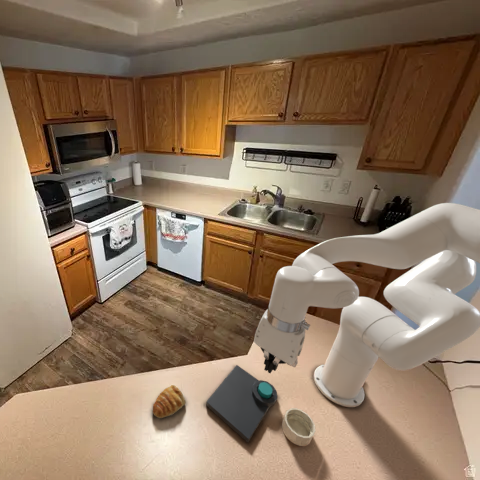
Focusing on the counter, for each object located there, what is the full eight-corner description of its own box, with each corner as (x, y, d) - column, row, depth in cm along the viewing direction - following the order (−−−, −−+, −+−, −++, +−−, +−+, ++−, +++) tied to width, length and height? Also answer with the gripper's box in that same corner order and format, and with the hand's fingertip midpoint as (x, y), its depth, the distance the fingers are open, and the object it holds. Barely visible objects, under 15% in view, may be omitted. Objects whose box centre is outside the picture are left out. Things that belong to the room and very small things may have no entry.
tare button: (261, 383, 75) (262, 379, 74) (273, 392, 73) (274, 388, 72) (255, 392, 73) (256, 388, 72) (267, 401, 71) (268, 397, 70)
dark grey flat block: (236, 368, 83) (237, 360, 81) (278, 398, 74) (281, 391, 73) (206, 405, 73) (206, 398, 72) (250, 445, 64) (252, 438, 63)
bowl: (287, 411, 71) (291, 402, 69) (314, 431, 67) (319, 422, 65) (277, 431, 67) (280, 422, 65) (304, 454, 63) (309, 444, 60)
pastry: (162, 427, 69) (161, 419, 67) (147, 407, 73) (146, 399, 72) (187, 404, 74) (187, 396, 72) (172, 386, 78) (171, 378, 77)
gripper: (325, 325, 57) (305, 377, 65) (261, 294, 66) (250, 343, 75) (314, 346, 52) (293, 399, 61) (246, 309, 61) (236, 359, 70)
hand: (269, 368), depth 68 cm, fingers closed
